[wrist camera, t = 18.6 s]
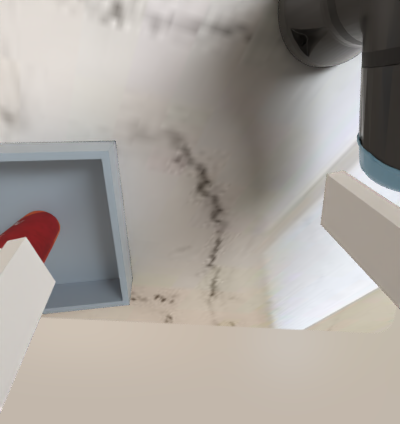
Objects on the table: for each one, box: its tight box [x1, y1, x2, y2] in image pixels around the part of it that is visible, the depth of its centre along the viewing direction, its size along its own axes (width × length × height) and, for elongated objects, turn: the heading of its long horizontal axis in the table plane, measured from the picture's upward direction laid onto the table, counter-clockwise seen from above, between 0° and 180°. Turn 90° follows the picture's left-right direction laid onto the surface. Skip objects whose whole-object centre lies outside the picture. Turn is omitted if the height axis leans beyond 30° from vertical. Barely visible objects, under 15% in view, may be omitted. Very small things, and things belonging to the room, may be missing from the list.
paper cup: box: [0, 211, 60, 263], centre depth 36 cm, size 8×8×14 cm
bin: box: [0, 141, 133, 314], centre depth 40 cm, size 26×26×7 cm
